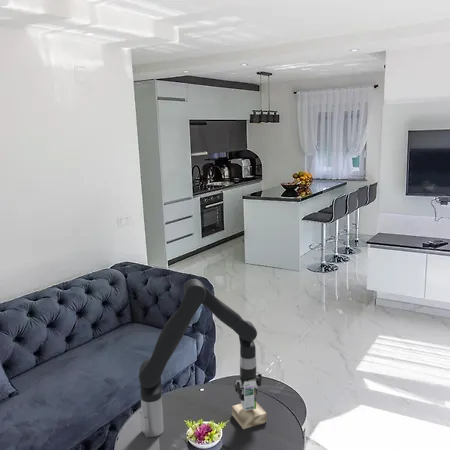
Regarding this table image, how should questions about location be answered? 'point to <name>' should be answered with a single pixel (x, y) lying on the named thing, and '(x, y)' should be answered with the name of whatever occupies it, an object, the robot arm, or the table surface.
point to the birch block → (249, 416)
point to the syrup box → (249, 395)
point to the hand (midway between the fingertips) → (248, 397)
